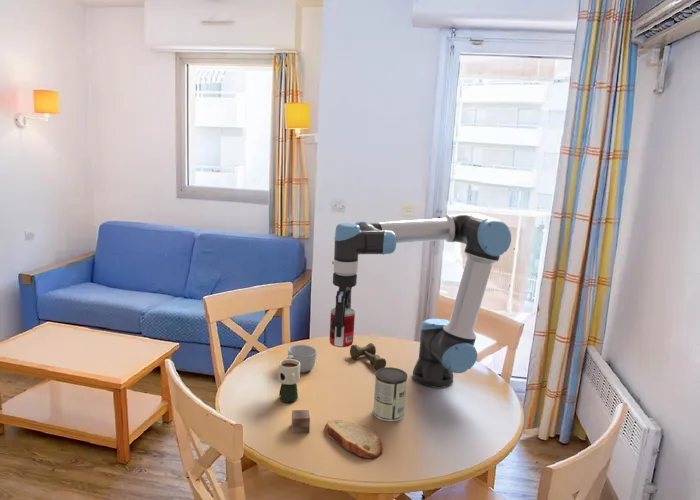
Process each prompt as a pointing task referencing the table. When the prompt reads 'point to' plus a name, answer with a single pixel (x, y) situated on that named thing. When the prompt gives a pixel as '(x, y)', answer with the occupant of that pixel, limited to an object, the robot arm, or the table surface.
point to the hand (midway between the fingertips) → (341, 340)
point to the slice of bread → (355, 438)
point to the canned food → (348, 327)
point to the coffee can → (390, 394)
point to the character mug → (289, 379)
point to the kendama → (368, 355)
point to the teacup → (303, 356)
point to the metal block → (300, 421)
